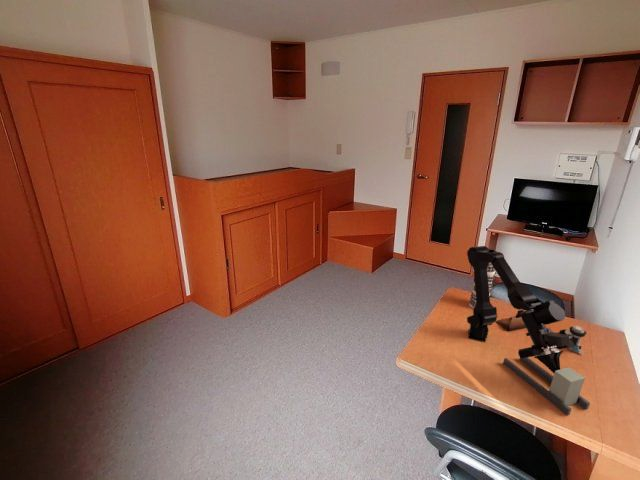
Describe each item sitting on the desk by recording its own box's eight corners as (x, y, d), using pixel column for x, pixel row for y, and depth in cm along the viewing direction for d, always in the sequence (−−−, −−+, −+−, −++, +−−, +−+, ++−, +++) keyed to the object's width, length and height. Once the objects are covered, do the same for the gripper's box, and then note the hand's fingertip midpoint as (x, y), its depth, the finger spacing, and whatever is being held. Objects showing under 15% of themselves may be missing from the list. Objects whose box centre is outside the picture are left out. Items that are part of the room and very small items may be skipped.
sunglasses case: (523, 316, 153) (532, 309, 148) (533, 329, 149) (542, 322, 144) (493, 321, 148) (501, 314, 143) (502, 335, 144) (511, 329, 139)
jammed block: (547, 395, 105) (555, 370, 102) (560, 391, 107) (568, 367, 104) (562, 407, 101) (571, 382, 97) (576, 403, 102) (585, 378, 99)
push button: (586, 354, 128) (594, 332, 124) (577, 356, 126) (584, 335, 123) (569, 344, 134) (576, 323, 130) (560, 346, 132) (567, 325, 129)
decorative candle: (469, 300, 167) (478, 255, 159) (489, 305, 163) (499, 259, 155) (467, 307, 160) (476, 261, 152) (487, 313, 155) (498, 265, 147)
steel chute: (501, 366, 120) (503, 358, 119) (521, 361, 123) (524, 353, 121) (564, 418, 98) (568, 410, 97) (588, 411, 101) (591, 402, 100)
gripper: (534, 326, 101) (559, 379, 94) (577, 318, 106) (603, 367, 100) (508, 333, 110) (529, 382, 104) (548, 325, 116) (571, 371, 109)
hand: (558, 375), depth 104 cm, fingers closed, pressing on jammed block
